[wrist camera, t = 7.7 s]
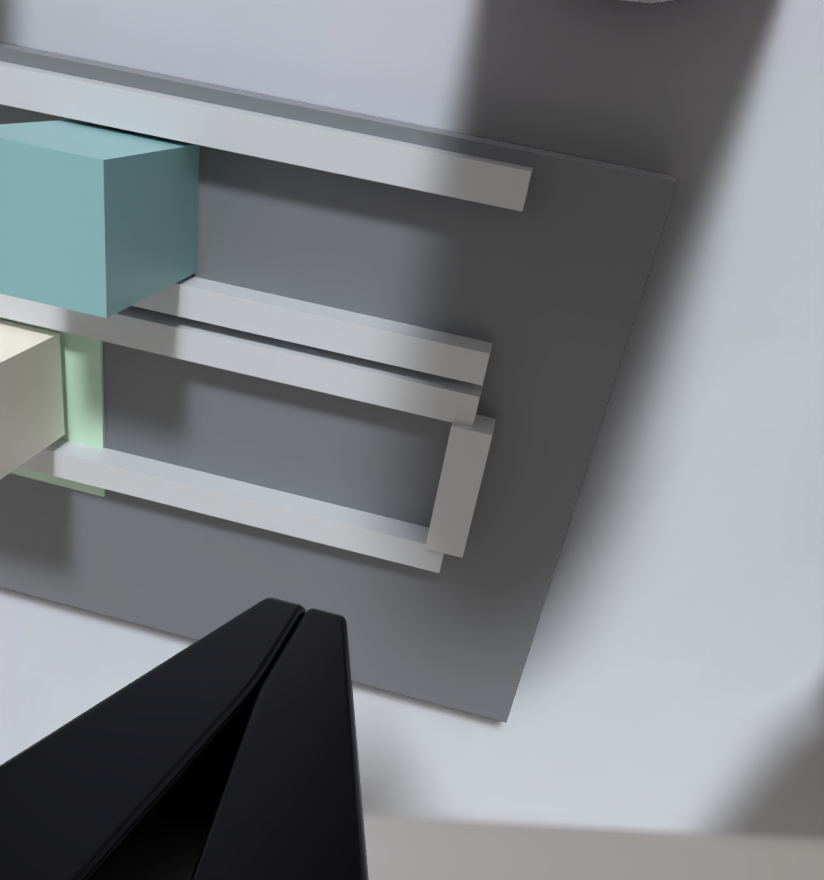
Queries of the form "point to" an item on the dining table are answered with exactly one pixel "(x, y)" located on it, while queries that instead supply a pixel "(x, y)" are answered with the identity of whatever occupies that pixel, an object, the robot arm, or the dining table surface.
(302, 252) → the console board
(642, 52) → the dining table surface
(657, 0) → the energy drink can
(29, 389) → the fader cap
